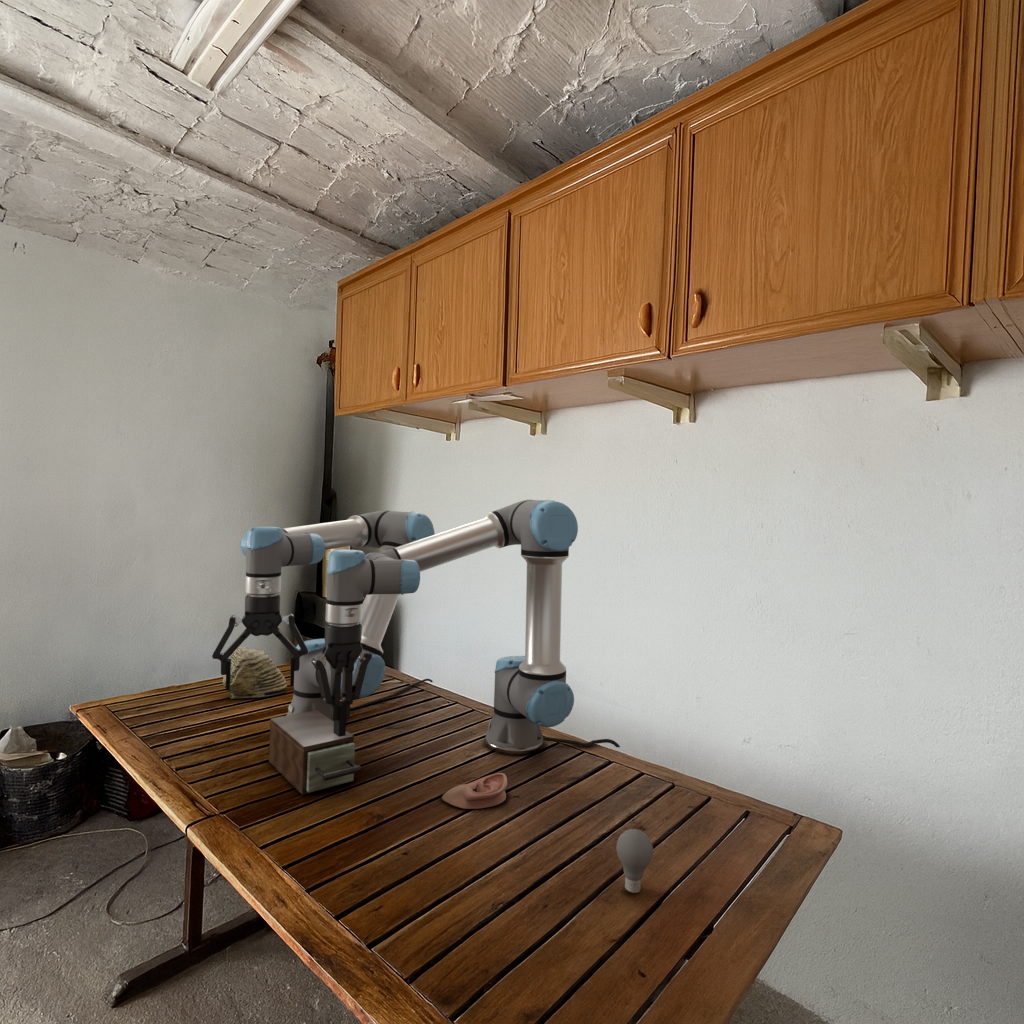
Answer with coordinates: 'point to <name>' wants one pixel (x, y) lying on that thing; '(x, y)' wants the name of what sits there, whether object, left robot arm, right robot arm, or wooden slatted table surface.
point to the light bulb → (634, 857)
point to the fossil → (254, 674)
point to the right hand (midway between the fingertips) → (339, 733)
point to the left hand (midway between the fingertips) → (260, 686)
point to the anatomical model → (478, 792)
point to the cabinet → (300, 743)
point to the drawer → (331, 766)
